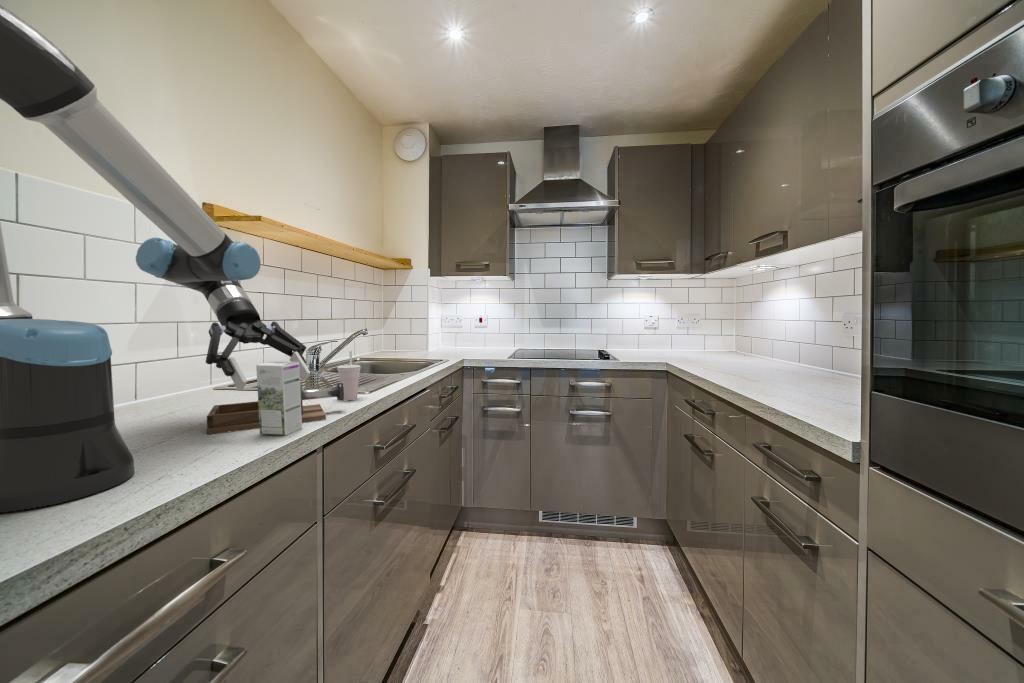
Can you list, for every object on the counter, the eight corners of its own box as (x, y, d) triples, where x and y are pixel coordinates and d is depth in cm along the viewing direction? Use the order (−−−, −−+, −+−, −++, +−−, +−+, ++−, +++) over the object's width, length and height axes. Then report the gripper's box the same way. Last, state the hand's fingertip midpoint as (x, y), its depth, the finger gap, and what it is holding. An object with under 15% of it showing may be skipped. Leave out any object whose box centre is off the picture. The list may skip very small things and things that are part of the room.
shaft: (344, 401, 98) (343, 383, 98) (282, 408, 91) (281, 389, 91) (341, 398, 102) (341, 381, 102) (282, 404, 95) (281, 386, 95)
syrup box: (303, 428, 85) (300, 360, 84) (284, 436, 79) (281, 364, 78) (278, 427, 85) (275, 360, 84) (258, 435, 79) (254, 363, 79)
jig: (325, 419, 92) (324, 386, 91) (207, 434, 81) (205, 397, 80) (319, 407, 104) (318, 378, 103) (215, 419, 92) (213, 386, 92)
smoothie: (357, 401, 111) (355, 352, 110) (334, 402, 111) (332, 352, 110) (365, 397, 117) (363, 350, 117) (343, 397, 117) (341, 350, 117)
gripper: (282, 321, 103) (321, 383, 97) (161, 322, 81) (203, 403, 75) (294, 300, 100) (335, 363, 94) (172, 296, 78) (217, 378, 72)
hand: (277, 381), depth 84 cm, fingers open, 13 cm apart
